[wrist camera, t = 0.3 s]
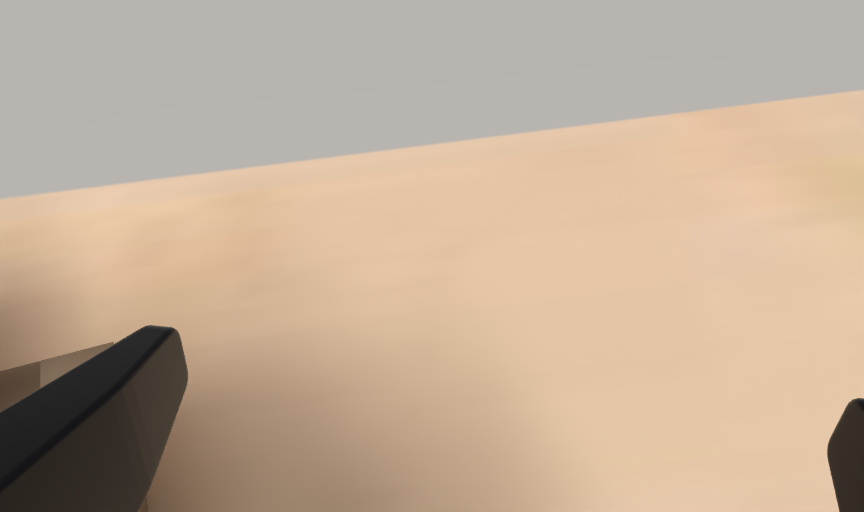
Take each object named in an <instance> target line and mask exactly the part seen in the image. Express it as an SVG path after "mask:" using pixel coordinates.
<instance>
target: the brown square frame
mask: <svg viewBox="0 0 864 512" xmlns="http://www.w3.org/2000/svg"><path fill="white" fill-rule="evenodd" d="M112 345H114V343H113V342H112V343H108V344H104V345H100V346H96V347H93V348H89V349H85V350H81V351H77V352H73V353H70V354H66V355H62V356H58V357H54V358H51V359H47V360H43V361H39V362H35V363H31V364H28V365H24V366H20V367H16V368H12V369H9V370H5V371H1V372H0V412H1V411H3V410H4V409H6V408H8V407H9V406H11V405H13V404H14V403H16V402H18V401H19V400H21V399H23V398H24V397H26V396H28V395H30V394H31V393H33V392H35V391H36V390H38V389H40V388H41V387H43V386H45V385H46V384H48V383H50V382H51V381H53V380H55V379H56V378H58V377H60V376H62V375H63V374H65V373H67V372H68V371H70V370H72V369H73V368H75V367H77V366H78V365H80V364H82V363H83V362H85V361H87V360H89V359H90V358H92V357H94V356H95V355H97V354H99V353H100V352H102V351H104V350H105V349H107V348H109V347H110V346H112ZM138 512H148V509H147V501H146V497H145V499H144V501H143V503H142V505H141V507H140V509H139V511H138Z"/></svg>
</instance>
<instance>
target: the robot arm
mask: <svg viewBox="0 0 864 512" xmlns="http://www.w3.org/2000/svg"><path fill="white" fill-rule="evenodd" d="M187 381H188V370H187V365H186V361H185V356H184V352H183V347H182V342H181V338H180V335H179V333H178V331H177V330H176V329H174V328H172V327H163V326H153V325H150V326H145V327H143V328H141V329H139V330H137V331H136V332H134V333H132V334H131V335H129V336H127V337H126V338H124V339H122V340H121V341H119V342H117V343H115V344H114V345H112V346H110V347H109V348H107V349H105V350H104V351H102V352H100V353H99V354H97V355H95V356H94V357H92V358H90V359H89V360H87V361H85V362H83V363H82V364H80V365H78V366H77V367H75V368H73V369H72V370H70V371H68V372H67V373H65V374H63V375H62V376H60V377H58V378H56V379H55V380H53V381H51V382H50V383H48V384H46V385H45V386H43V387H41V388H40V389H38V390H36V391H35V392H33V393H31V394H30V395H28V396H26V397H24V398H23V399H21V400H19V401H18V402H16V403H14V404H13V405H11V406H9V407H8V408H6V409H4V410H3V411H1V412H0V512H138V511H139V509H140V507H141V505H142V503H143V501H144V499H145V497H146V494H147V492H148V490H149V488H150V486H151V483H152V481H153V478H154V476H155V473H156V470H157V468H158V465H159V462H160V459H161V457H162V454H163V451H164V448H165V445H166V443H167V440H168V437H169V434H170V432H171V429H172V426H173V423H174V420H175V418H176V415H177V412H178V409H179V406H180V404H181V401H182V398H183V395H184V392H185V390H186V386H187ZM827 455H828V462H829V467H830V471H831V476H832V480H833V485H834V489H835V494H836V498H837V503H838V507H839V512H864V399H863V398H857V399H853V400H852V401H851V402H849V403H848V405H847V407H846V408H845V410H844V412H843V414H842V416H841V418H840V420H839V422H838V424H837V426H836V428H835V430H834V432H833V434H832V436H831V438H830V440H829V443H828V449H827Z"/></svg>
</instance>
